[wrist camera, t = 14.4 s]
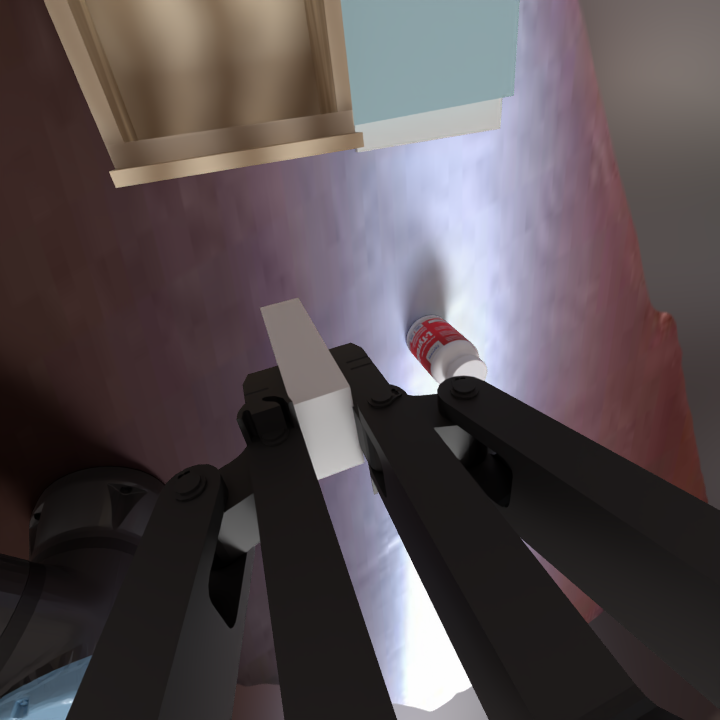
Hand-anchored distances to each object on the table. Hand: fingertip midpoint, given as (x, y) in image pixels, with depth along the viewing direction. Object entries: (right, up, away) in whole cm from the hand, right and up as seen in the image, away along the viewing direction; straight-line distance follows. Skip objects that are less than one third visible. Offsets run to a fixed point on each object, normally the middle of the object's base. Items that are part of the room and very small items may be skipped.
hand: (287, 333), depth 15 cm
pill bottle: (+12, +2, +37) cm, 39 cm away
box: (-9, +23, +16) cm, 30 cm away
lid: (+8, +28, +19) cm, 35 cm away
